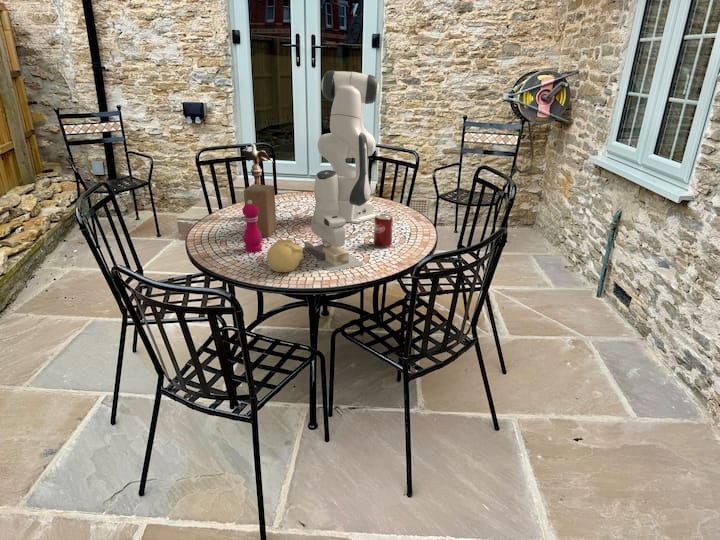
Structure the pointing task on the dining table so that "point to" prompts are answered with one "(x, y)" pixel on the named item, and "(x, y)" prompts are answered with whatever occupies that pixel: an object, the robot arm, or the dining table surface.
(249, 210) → the pepper mill
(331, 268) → the slate mat
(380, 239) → the soda can
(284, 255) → the sculpture
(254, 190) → the wooden block
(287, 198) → the dining table surface
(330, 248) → the birch block
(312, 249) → the metal chute
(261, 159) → the bird statue
